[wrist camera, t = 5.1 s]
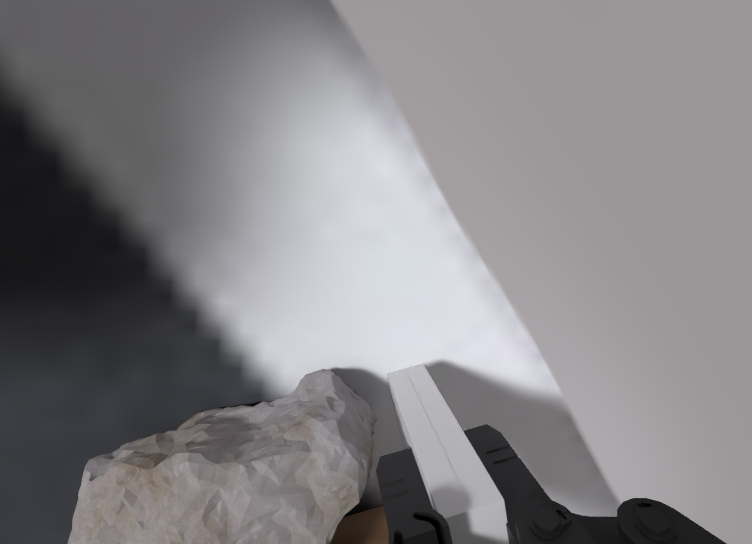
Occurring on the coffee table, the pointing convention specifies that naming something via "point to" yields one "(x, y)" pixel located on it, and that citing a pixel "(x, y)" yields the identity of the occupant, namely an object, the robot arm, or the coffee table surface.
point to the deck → (363, 528)
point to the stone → (236, 474)
